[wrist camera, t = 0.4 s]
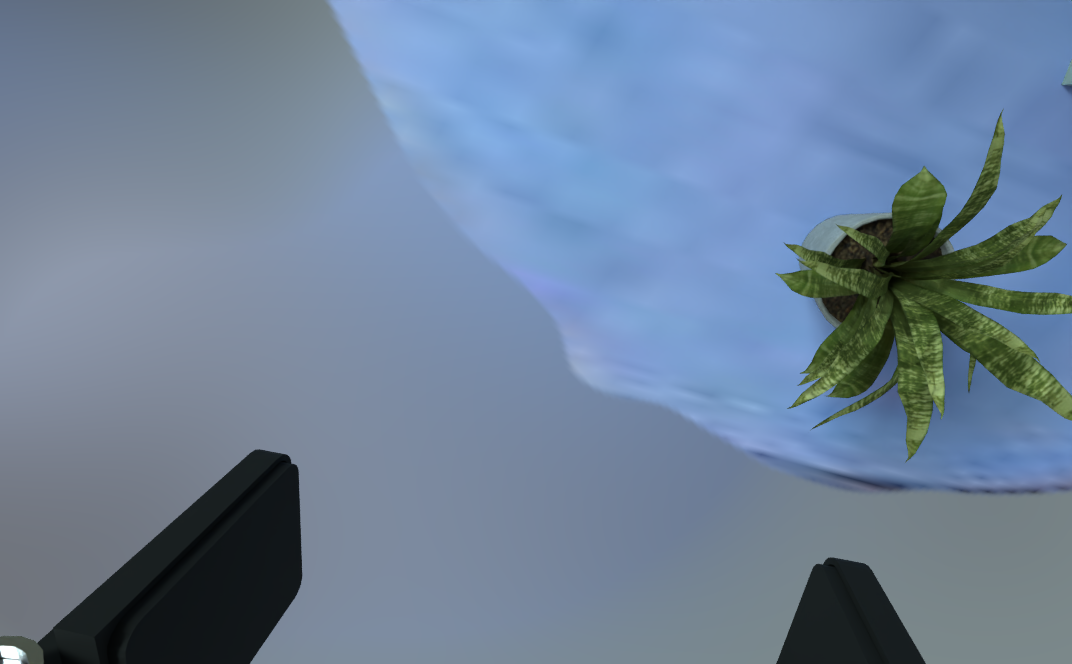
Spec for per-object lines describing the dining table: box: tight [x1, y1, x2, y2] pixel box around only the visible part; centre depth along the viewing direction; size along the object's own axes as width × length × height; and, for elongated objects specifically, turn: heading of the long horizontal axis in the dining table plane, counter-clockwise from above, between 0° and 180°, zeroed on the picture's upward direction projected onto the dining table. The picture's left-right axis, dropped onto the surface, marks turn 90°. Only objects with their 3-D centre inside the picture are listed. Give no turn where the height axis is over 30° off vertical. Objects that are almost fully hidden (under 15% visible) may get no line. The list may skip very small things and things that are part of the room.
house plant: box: [775, 110, 1072, 461], centre depth 28 cm, size 14×14×16 cm
